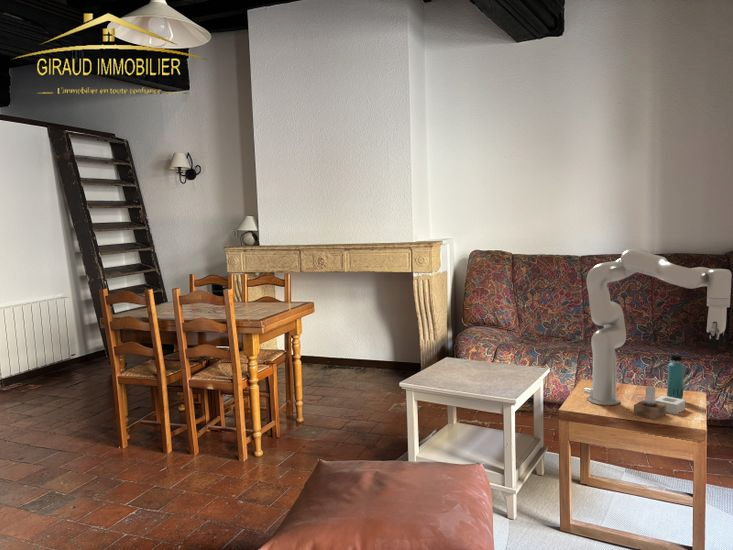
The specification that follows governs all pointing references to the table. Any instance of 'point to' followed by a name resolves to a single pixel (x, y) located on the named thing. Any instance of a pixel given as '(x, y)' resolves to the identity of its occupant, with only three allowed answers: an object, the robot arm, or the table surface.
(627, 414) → the table surface
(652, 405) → the steel peg
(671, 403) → the block
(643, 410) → the socket block
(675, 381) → the beverage bottle
